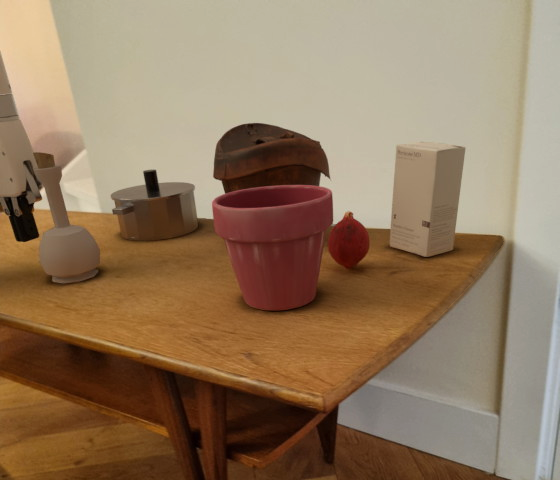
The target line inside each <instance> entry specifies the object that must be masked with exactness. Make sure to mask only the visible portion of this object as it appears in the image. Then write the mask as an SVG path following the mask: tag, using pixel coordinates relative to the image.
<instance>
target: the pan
mask: <svg viewBox="0 0 560 480" xmlns="http://www.w3.org/2000/svg"><path fill="white" fill-rule="evenodd" d="M194 191H195V190H194ZM194 191H193V192H191V193H188V194H186V195H182V196H179V197H174V198H169V199H163V200H156V201H146V202H119V201H114V200H113V201H114V202H113V203H114V206H115V207H113V208H111V212H112V215H117V220H118V221H117V222H118V226H119V230H120V234H121V237H123V239H125V240H130V241H137V242H139V241H140V242H147V241H162V240H167V239H172V238H173V239H174V238H177V237H181V236H185V235H187V234H190V233H192V232H194V231H196V230H197V229H198V227H199V220H198V214H197V205H196V198H195V192H194Z"/></svg>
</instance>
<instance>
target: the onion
mask: <svg viewBox="0 0 560 480" xmlns="http://www.w3.org/2000/svg"><path fill="white" fill-rule="evenodd" d="M370 244H371V243H370V236H369V231H368V229H367V228H366V227H365V226H364V224H363V223H362V222H360V221H359V220H357V219H356V218H354V212H352V211H350V210H347V211H345V213H344V214H343V217H342V219H341V220H339V221H338V222H337V223H336V224H334V225H333V227H332V228H331V230H330V233H329V235H328V237H327V250H328V253H329V255H330V257H331V258H332V259H333V260H334V262H336V263H337V264H338V265H340V266H341V267H342V268H345V269H346V270H351V269H353V268H355V266H356V265H358V264H359V263H360V262H362V260H363V259H365V257H366V256H367V254H368V253H369V250H370V246H371V245H370Z"/></svg>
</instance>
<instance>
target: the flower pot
mask: <svg viewBox="0 0 560 480" xmlns="http://www.w3.org/2000/svg"><path fill="white" fill-rule="evenodd" d="M211 206H212V207H211V208H212V218H213V225H214V233H215V234H216V235H217V236H218V237H220V239H221V238H222V239H223V241H224V244H225V248H226V251H227V254H228V257H229V260H230V263H231V266H232V269H233V273H234V275H235V278H236V281H237V283H238V286H239V288H240V291H241V294H242V297H243V300H244V302H245V304H247V305H248V306H249V307H251V308H253V309H257V310H261V311H262V310H263V311H287V310H291V309H297V308H300V307H303V306H306V305H308V304H310V303H311V302H313V301H314V299H315V297H316V295H317V289H318V284H319V277H320V272H321V267H322V260H323V259H322V258H323V254H324V248H325V242H326V241H325V240H326V234H327V233H326V232H327V230H328V229H329V228H331V227H332V225H333V224H334V198H333V191H332V190H331V189H330V188H328V187H324V186H320V185H319V186H313V185H279V186H265V187H256V188H249V189H243V190H238V191H233V192H229V193H226V194H225V193H223V194H221V195H218V196H217V197H214V199H213V200H212V202H211Z"/></svg>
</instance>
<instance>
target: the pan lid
mask: <svg viewBox="0 0 560 480" xmlns="http://www.w3.org/2000/svg"><path fill="white" fill-rule="evenodd" d="M142 174H143V180H144V184H139V185H134V186H129V187H125V188H122V189H118V190H116V191H113V192H112V193H111V194H110V199H111V200H112V201H119V202H146V201H156V200H163V199H169V198H174V197H179V196H182V195H186V194H188V193H191V192H193V191H195V190H196V186H195V184H193V183H190V182H185V181H184V182H183V181H180V182H179V181H169V182H168V181H166V182H159V179H158V172H157V169H146V170H143V171H142Z"/></svg>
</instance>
